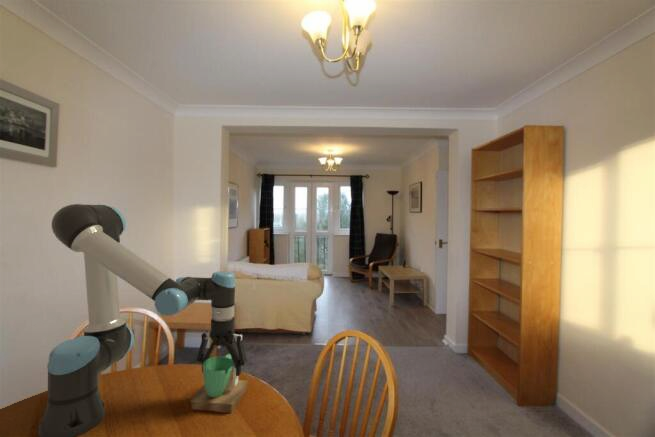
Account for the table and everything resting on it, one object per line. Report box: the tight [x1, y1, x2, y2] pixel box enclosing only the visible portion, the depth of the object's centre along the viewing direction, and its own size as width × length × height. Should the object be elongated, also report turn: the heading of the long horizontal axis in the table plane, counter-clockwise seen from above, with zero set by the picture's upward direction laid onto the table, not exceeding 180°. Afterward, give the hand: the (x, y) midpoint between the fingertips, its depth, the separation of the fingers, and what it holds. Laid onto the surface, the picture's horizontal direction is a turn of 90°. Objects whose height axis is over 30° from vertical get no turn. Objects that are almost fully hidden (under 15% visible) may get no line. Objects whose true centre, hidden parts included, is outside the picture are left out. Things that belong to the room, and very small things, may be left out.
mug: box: [202, 353, 235, 397], centre depth 106 cm, size 15×10×10 cm
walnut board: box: [189, 378, 249, 414], centre depth 106 cm, size 14×14×3 cm
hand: (221, 383), depth 106 cm, fingers closed on mug, 9 cm apart
